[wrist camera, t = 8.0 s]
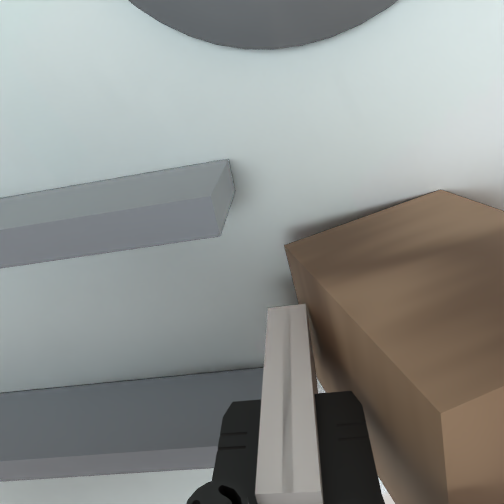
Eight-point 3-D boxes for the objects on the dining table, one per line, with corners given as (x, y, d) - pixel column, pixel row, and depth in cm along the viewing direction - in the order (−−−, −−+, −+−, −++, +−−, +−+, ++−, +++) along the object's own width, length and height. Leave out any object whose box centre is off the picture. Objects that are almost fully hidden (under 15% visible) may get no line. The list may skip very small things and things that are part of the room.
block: (317, 378, 17) (457, 603, 9) (283, 245, 14) (440, 413, 7) (449, 324, 17) (672, 494, 10) (440, 189, 15) (728, 287, 8)
